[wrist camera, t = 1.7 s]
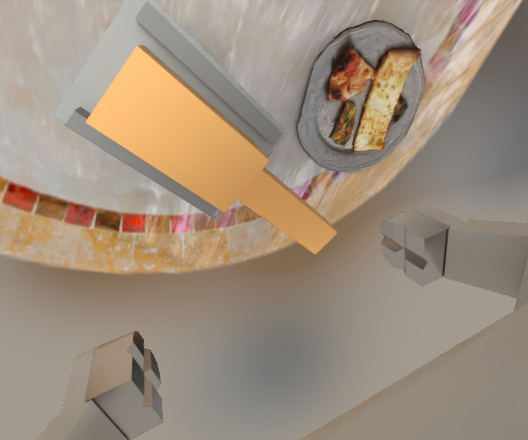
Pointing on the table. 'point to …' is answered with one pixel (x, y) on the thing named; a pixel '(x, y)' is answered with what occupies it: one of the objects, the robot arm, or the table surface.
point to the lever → (199, 147)
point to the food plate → (362, 95)
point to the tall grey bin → (179, 61)
